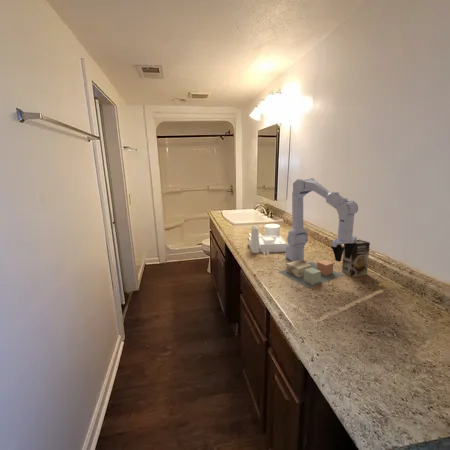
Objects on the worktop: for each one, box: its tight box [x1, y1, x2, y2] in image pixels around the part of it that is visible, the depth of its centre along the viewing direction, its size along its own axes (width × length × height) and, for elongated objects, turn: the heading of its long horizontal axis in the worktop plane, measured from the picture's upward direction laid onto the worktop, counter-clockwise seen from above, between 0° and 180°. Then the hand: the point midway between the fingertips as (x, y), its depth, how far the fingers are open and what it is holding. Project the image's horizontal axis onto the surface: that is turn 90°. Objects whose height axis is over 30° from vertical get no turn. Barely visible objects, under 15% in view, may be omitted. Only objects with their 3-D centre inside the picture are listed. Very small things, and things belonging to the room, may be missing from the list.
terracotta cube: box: [316, 259, 334, 276], centre depth 125 cm, size 5×5×5 cm
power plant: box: [248, 223, 288, 255], centre depth 168 cm, size 35×24×15 cm
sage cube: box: [304, 268, 321, 285], centre depth 116 cm, size 5×5×5 cm
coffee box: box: [341, 239, 371, 278], centre depth 123 cm, size 9×6×16 cm
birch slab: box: [285, 260, 311, 277], centre depth 126 cm, size 8×8×4 cm
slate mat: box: [278, 261, 344, 289], centre depth 125 cm, size 19×23×1 cm
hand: (342, 259), depth 117 cm, fingers open, 6 cm apart
